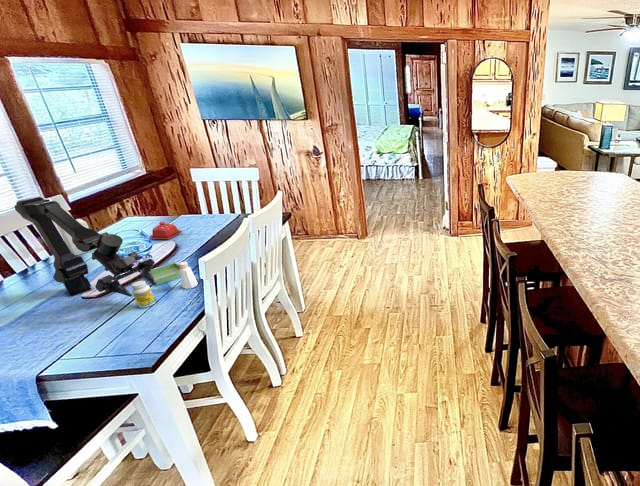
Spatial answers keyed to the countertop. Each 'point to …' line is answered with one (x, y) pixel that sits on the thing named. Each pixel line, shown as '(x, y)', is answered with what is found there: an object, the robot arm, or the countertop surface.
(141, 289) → the supplement bottle
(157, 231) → the butter dish
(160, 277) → the green tray
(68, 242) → the rectangular carton
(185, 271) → the pepper shaker
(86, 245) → the robot arm
